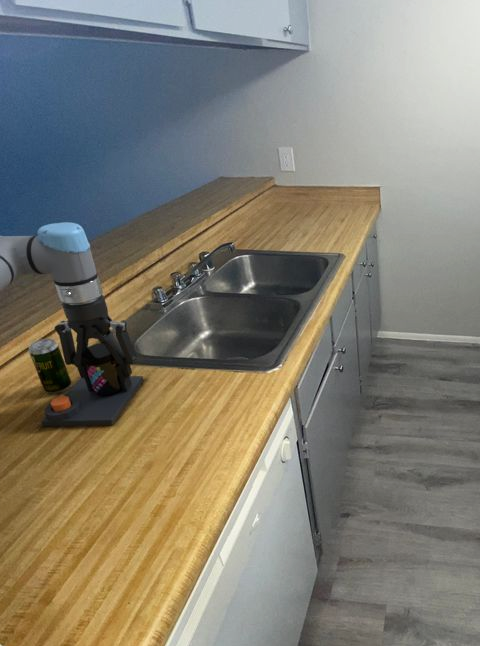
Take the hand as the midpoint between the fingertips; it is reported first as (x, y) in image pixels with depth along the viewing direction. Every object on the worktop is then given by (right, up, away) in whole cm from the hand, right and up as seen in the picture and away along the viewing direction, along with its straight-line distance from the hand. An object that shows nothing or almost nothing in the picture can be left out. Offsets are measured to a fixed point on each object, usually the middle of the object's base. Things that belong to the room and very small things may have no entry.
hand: (110, 387), depth 109 cm
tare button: (-5, -3, -8) cm, 10 cm away
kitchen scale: (-2, -3, -2) cm, 4 cm away
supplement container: (0, 0, 0) cm, 1 cm away
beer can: (-13, 0, +2) cm, 14 cm away
